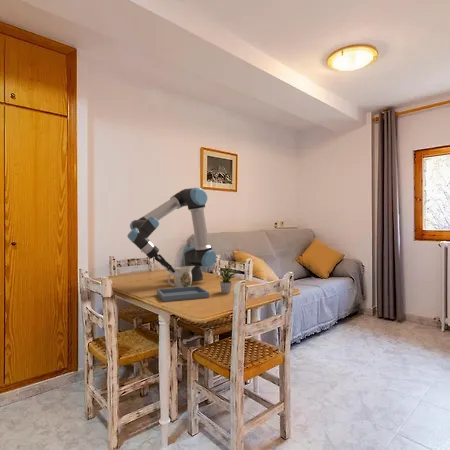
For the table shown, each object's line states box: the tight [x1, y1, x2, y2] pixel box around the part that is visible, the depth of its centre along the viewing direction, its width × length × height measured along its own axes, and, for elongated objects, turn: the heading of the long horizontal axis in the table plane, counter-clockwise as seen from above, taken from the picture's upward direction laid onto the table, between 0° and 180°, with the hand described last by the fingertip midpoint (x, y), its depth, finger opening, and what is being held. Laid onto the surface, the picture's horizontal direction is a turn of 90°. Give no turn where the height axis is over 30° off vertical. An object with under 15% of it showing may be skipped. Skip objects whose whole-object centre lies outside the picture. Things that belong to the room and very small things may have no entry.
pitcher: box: [167, 266, 195, 288], centre depth 200 cm, size 11×18×14 cm, turn 122°
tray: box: [156, 285, 210, 303], centre depth 182 cm, size 25×18×3 cm
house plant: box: [214, 266, 238, 294], centre depth 191 cm, size 14×14×16 cm
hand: (175, 273), depth 198 cm, fingers open, 13 cm apart
